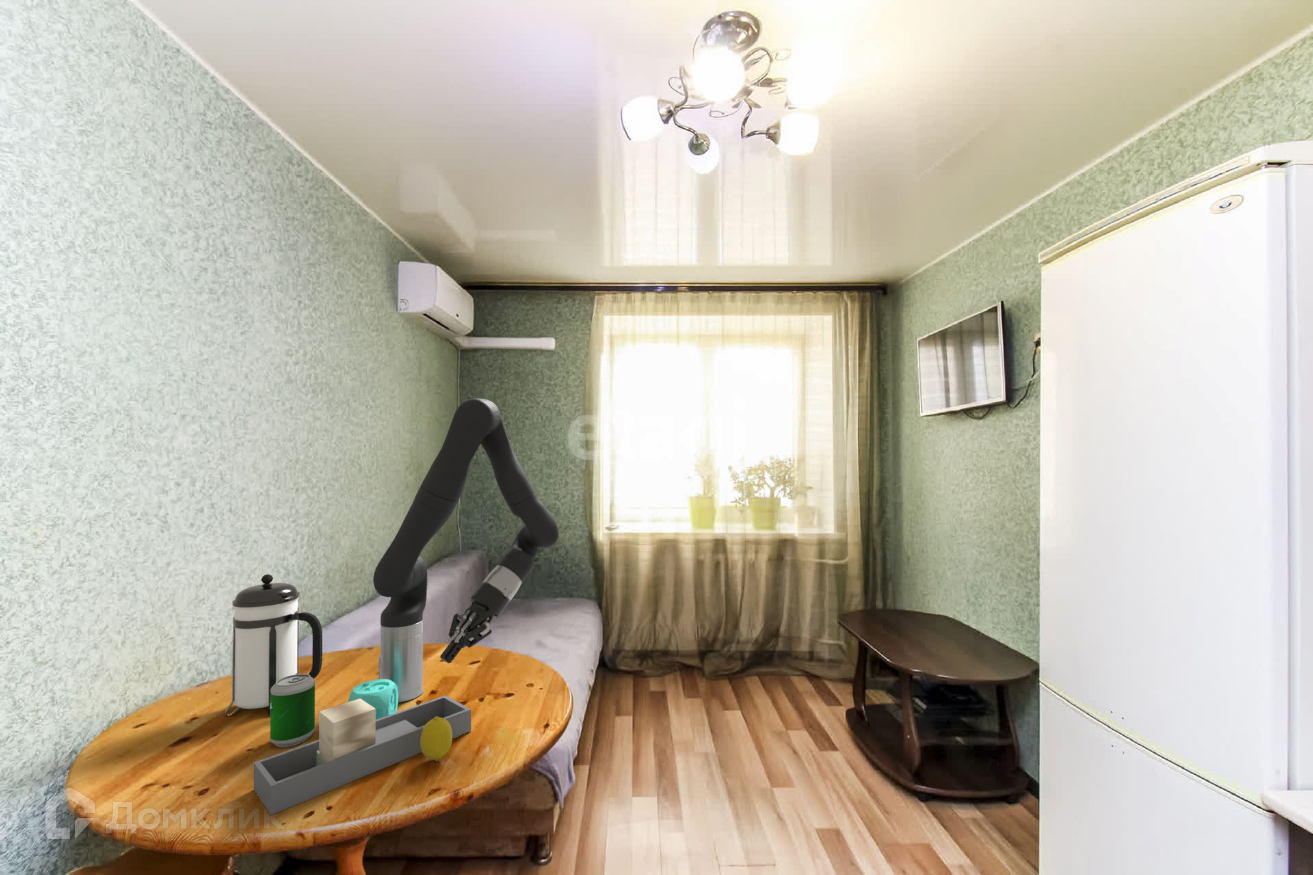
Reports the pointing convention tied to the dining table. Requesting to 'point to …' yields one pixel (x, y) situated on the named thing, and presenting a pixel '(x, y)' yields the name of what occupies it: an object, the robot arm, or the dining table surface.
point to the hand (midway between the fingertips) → (444, 660)
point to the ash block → (346, 729)
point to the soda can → (292, 710)
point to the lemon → (436, 738)
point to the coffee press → (267, 641)
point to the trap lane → (351, 756)
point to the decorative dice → (378, 696)
